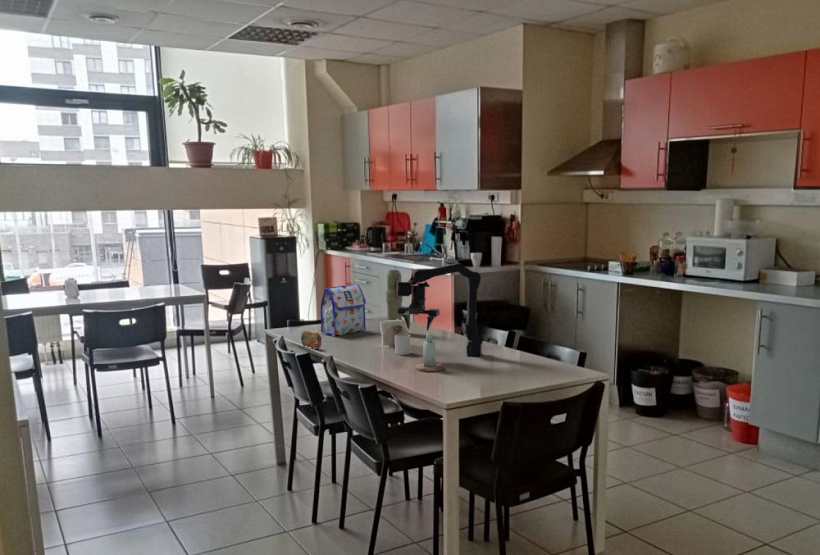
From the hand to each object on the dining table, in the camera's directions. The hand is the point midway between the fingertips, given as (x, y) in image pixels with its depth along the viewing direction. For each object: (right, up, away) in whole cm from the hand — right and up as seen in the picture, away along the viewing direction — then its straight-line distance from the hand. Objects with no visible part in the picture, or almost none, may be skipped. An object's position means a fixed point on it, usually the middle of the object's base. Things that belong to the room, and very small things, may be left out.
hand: (418, 329), depth 300 cm
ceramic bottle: (+5, -14, -18) cm, 24 cm away
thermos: (-12, -7, +61) cm, 63 cm away
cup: (-8, -12, +12) cm, 19 cm away
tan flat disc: (+5, -15, -18) cm, 24 cm away
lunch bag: (-41, -7, +64) cm, 76 cm away
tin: (-53, -11, +26) cm, 60 cm away
